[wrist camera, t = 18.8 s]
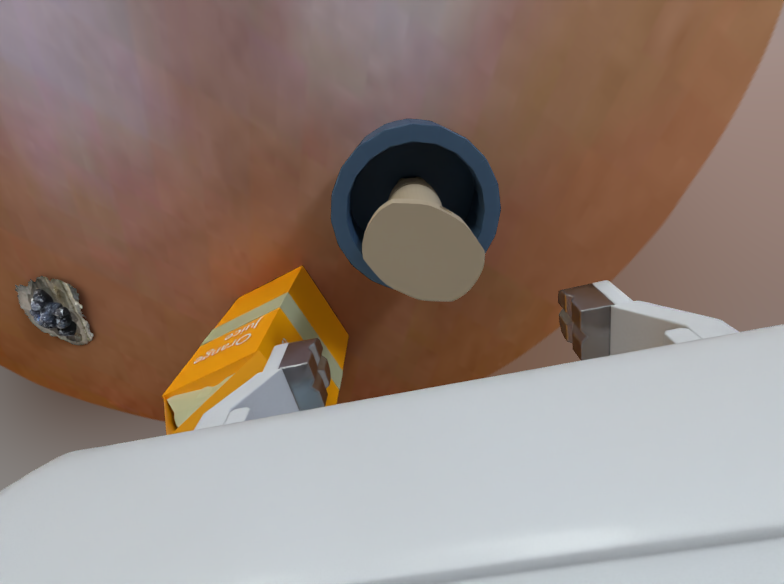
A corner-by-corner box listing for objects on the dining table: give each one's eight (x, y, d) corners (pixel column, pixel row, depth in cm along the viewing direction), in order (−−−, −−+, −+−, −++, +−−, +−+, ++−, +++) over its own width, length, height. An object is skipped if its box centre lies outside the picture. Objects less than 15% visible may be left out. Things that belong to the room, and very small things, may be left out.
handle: (429, 235, 36) (452, 316, 22) (364, 201, 35) (347, 266, 21) (458, 186, 34) (502, 242, 21) (390, 149, 33) (389, 183, 19)
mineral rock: (64, 265, 38) (48, 273, 36) (116, 334, 41) (104, 344, 40) (6, 287, 39) (-12, 296, 37) (61, 353, 42) (47, 363, 41)
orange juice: (286, 364, 43) (210, 556, 25) (236, 298, 40) (105, 464, 21) (351, 335, 41) (319, 517, 23) (304, 263, 38) (224, 411, 20)
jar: (327, 137, 33) (309, 147, 26) (467, 103, 32) (489, 104, 25) (362, 265, 38) (355, 304, 31) (485, 240, 37) (508, 274, 30)
